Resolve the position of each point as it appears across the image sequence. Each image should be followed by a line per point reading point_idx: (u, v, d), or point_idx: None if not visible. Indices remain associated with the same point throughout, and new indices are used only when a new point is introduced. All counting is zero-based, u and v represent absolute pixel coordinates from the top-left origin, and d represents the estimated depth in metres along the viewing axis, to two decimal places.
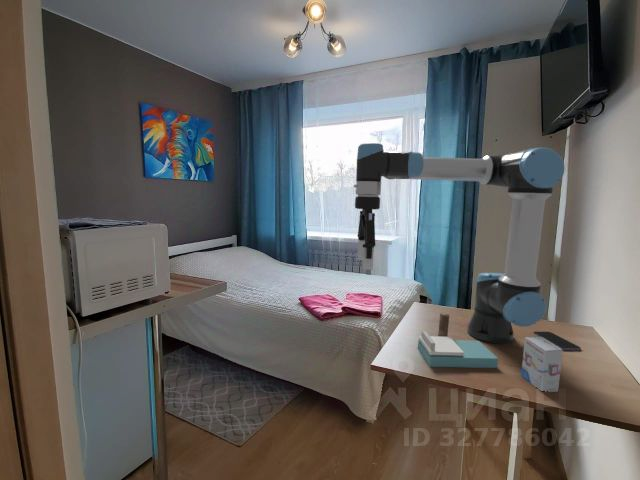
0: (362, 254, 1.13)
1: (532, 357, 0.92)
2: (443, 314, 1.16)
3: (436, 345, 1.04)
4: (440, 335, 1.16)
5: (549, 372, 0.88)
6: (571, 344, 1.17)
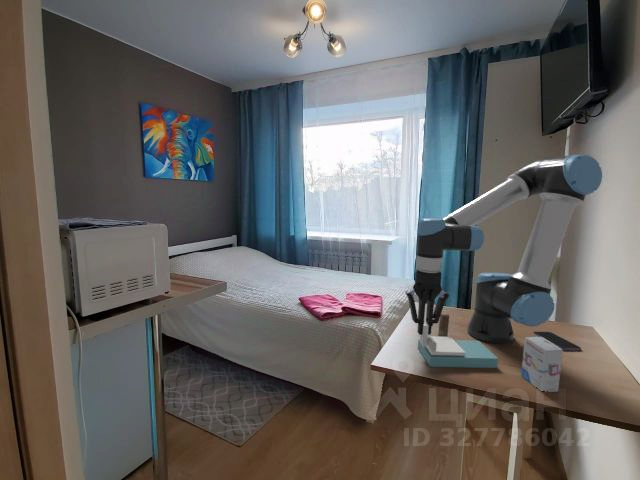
0: None
1: (532, 357, 0.92)
2: (443, 314, 1.16)
3: (437, 345, 1.04)
4: (440, 335, 1.16)
5: (549, 372, 0.88)
6: (571, 344, 1.17)
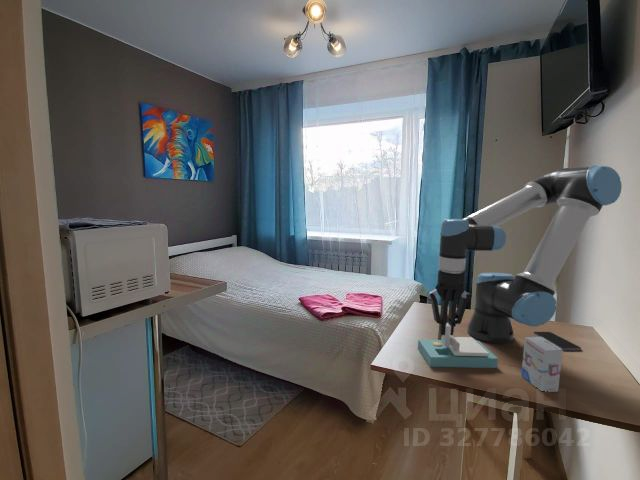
0: None
1: (532, 357, 0.92)
2: None
3: (460, 346, 1.04)
4: (440, 335, 1.16)
5: (549, 372, 0.88)
6: (571, 344, 1.17)
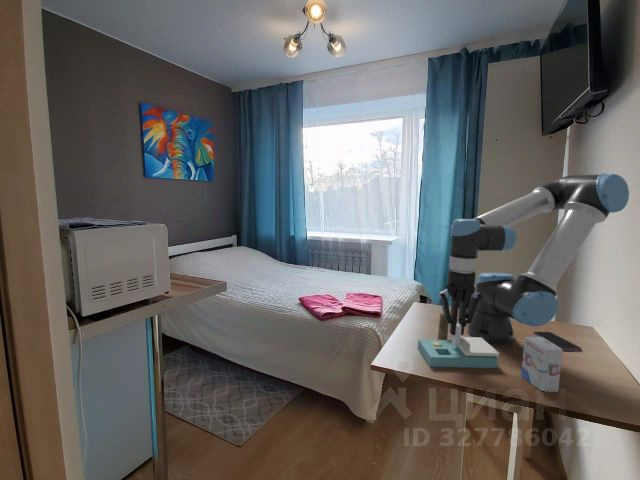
0: None
1: (532, 357, 0.92)
2: (443, 314, 1.16)
3: (470, 346, 1.04)
4: (440, 335, 1.16)
5: (549, 372, 0.88)
6: (571, 344, 1.17)
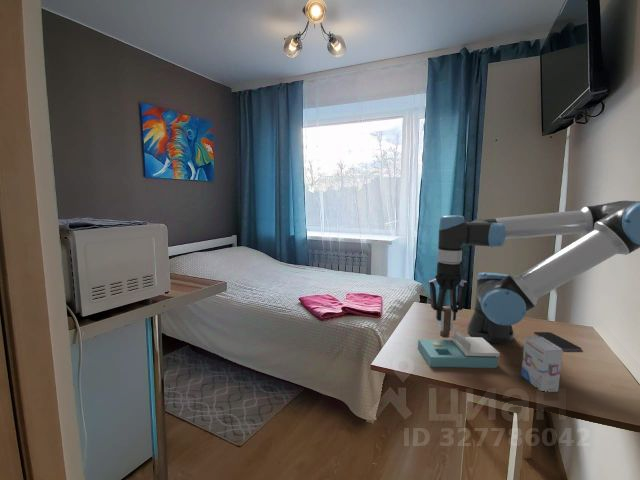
0: None
1: (532, 357, 0.92)
2: (445, 307, 1.15)
3: (471, 346, 1.04)
4: None
5: (549, 372, 0.88)
6: (572, 345, 1.17)
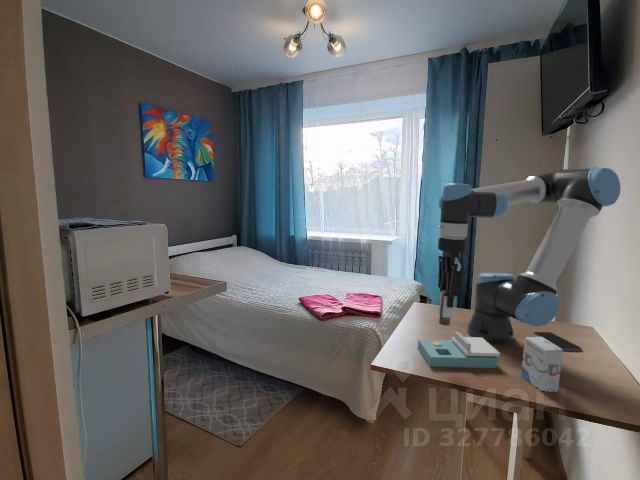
0: None
1: (532, 357, 0.92)
2: None
3: (471, 346, 1.04)
4: None
5: (549, 372, 0.88)
6: (572, 345, 1.17)
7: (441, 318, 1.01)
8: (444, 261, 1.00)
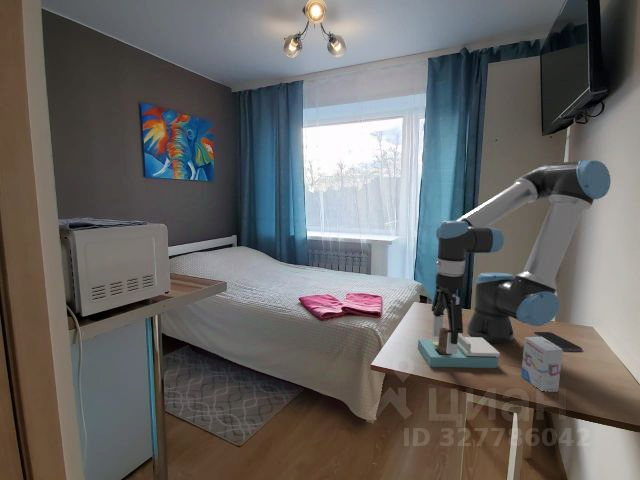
0: (438, 330, 1.08)
1: (532, 357, 0.92)
2: (446, 330, 1.02)
3: (471, 346, 1.04)
4: (447, 354, 1.02)
5: (549, 372, 0.88)
6: (572, 345, 1.16)
7: None
8: (441, 296, 1.02)
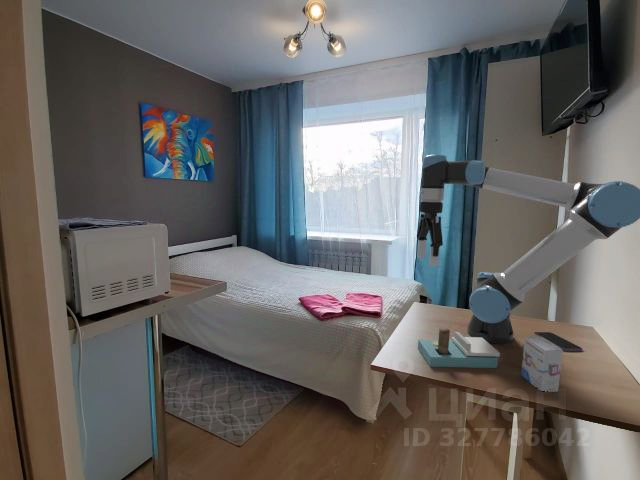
0: (422, 252, 1.26)
1: (532, 357, 0.92)
2: (445, 330, 1.02)
3: (471, 346, 1.04)
4: (447, 354, 1.02)
5: (549, 372, 0.88)
6: (572, 345, 1.16)
7: None
8: (424, 222, 1.20)
